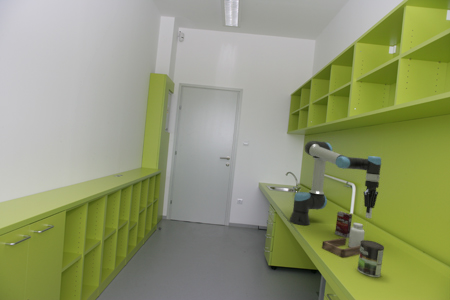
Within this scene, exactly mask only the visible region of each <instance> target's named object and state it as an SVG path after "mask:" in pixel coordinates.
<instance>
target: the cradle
mask: <svg viewBox="0 0 450 300" xmlns="http://www.w3.org/2000/svg"><path fill="white" fill-rule="evenodd" d="M346 242H347V238H345V237H340V238H335V239H328V240H323V241H322V244H321V248H322V249H323V250H326V251H327V252H329V253H332V254H334V255H335V256H338V257H341V258H343V259H344V258H349V257H353V256H357V255H359V253H360V246H356V247H352V248H350V247H347V248H341V246H345V245H346Z"/></svg>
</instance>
